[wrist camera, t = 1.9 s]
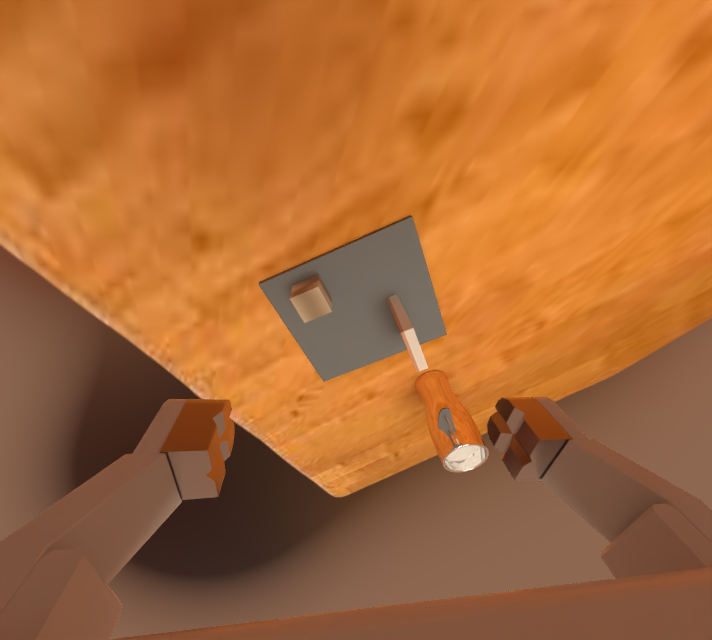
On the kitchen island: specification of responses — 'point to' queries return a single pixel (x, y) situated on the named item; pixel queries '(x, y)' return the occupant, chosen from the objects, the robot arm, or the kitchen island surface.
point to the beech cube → (311, 298)
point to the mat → (362, 300)
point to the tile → (407, 333)
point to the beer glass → (450, 425)
